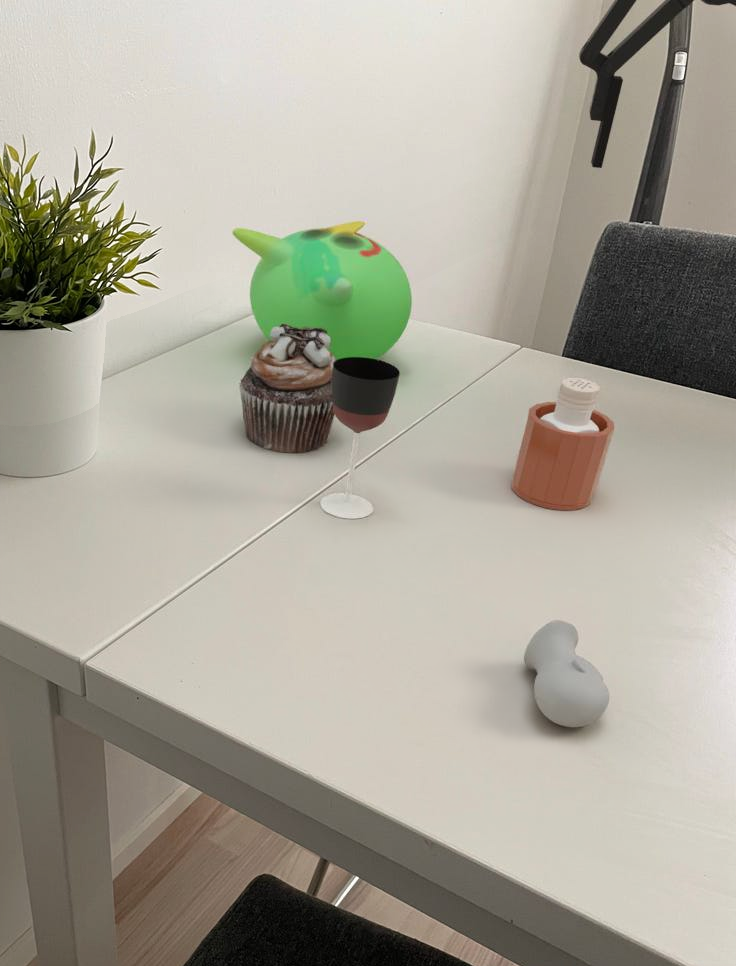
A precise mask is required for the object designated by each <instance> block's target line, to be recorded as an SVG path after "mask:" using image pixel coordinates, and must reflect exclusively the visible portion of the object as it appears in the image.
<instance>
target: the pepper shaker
mask: <svg viewBox="0 0 736 966" xmlns="http://www.w3.org/2000/svg"><path fill="white" fill-rule="evenodd" d="M600 388H601V387H600V385H598V384H597V383H596V382H594V381H591V380H589V379H586V378H580V377H567V378H563V379H562V380H561V382H560V387H559V390H558V394H557V398H556V400H555V402H556V407H555V411H554V412H553V413H549V414H546V415H544V416H542V417H541V418H540V420H541V421H542V422H544V423H546V424H548V425H549V426H551V427H554V428H557V429H561V430H564V431H569V432H575V433H596V432H599V428H598V426H597V425H596V424H595V423H594V422H593V421H591V420H590V417H591V414H592V411H593V410H595V405H596V401H597V398H598V395H599V391H600Z"/></svg>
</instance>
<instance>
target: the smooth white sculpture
mask: <svg viewBox="0 0 736 966" xmlns="http://www.w3.org/2000/svg"><path fill="white" fill-rule="evenodd" d="M578 643H579V632H578V630H577V628H576V627H575V625H573V624H572V623H570V622H567V621H564V620H561V619H555V620H552V621H550V622H547V623H546V624H545V625H543V626H542V627H540V629H538V630H537V631H536V632H535V633H534V634H533V636H532V637H531V639H530V640H529V642H528V644H527V645H526V648H525V651H524V654H523V655H524V656H523V663H524V665H525V667H526V668H527V669H529V670H531V671H536V673H537V674H536V676H535V680H534V686H533V692H534V699H535V702H536V704H537V707H538V708H539V710H540V712H541V713H542V714H543V715H544V716H545V717H546V718H547V719H548V720H550V721H551V722H553V723H554V724H557V725H558V726H562V727H566V728H583V727H587V726H589V725H591V724H593V723H594V722H596V721H597V720H598V719H599V718H600V717H601V716H602V715H603V714H604V713H605V712H606V710H607V708H608V706H609V702H610V691H609V688H608V686H607V685H606V683H605V682H604V678H603V675H602V673H601V672H600V671H599V669H598V668H596V667H595V666H594V664H592V663H591V662H590V661H588V660H587V659H586V658H584V657H582V656H580V655H578V654H576V648H577V646H578Z"/></svg>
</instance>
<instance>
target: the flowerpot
mask: <svg viewBox="0 0 736 966" xmlns="http://www.w3.org/2000/svg"><path fill="white" fill-rule="evenodd" d="M555 407H556V401H545V402H540V403H536V404H533V405H532V406H531V407H529V409H528V411H527V415H526V420H525V423H524V428H523V433H522V436H521V440H520V445H519V449H518V453H517V455H516V456H517V457H516V460H515V465H514V468H513V472H512V478H511V481H510V487H511V489H512V491H513V493H515V494H516V495H517V496H518V497H519V498H521V499H522V500H524V501H526V502H528V503H530V504H533V505H535V506H538V507H542V508H545V509H550V510H556V511H577V510H580V509H584V508H587V507H588V506H589V505H590V504H591V503H592V501H593V498H594V497H595V494H596V491H597V487H598V484H599V481H600V477H601V474H602V471H603V467H604V464H605V461H606V458H607V454H608V452H609V449H610V445H611V442H612V438H613V435H614V431H615V422H614V421H613V420H612V419H611V418H610V417H609V416H608V415H606V414H604V413H603V412H600V411H598V410H596V409H594V410H593V411H592V414H591V417H590V420H591V421H593V422H594V423H595V424H596V425H597V426H598V428H599V432H596V433H575V432H569V431H564V430H561V429H557V428H554V427H551V426H549V425H548V424H546V423H544V422H542V421H541V420H540V418H541V417H542V416H544V415H546V414H549V413H553V412H554V411H555Z"/></svg>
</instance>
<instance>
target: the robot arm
mask: <svg viewBox="0 0 736 966" xmlns="http://www.w3.org/2000/svg"><path fill="white" fill-rule="evenodd" d="M694 1H695V0H664V1H663V2H662V3H661V4H660V5H659V6H657V7H656V8H655V9H654V10H653V11H652V12H651V13H650V14H649V15H648V16H646V18H645V19H644V20H642V22H641V23H640V24H638V26H636V27H635V28H634V29H633V30H632V31H631V32H630V33H629V34H627V36H626V37H624V38H623V39H622V40H621V42H619V43H618V44H617V45H616V46H615V47H614V48H613V49H611V51H610V52H609V53H608V54H604V53H603V52H602V50H603V49H604V48H605V46H606V45H607V44H608V42H609V41H610V39H611V38H612V36H613V35H614V33H615V32H616V31H617V29H618V28H619V26H620V25H621V23H622V22H623V20H624V19H625V17H626V16H627V15H628V14H629V12H630V11H631V10H632V8H633V6H634V5H635V4H636V2H637V0H614V1H613V2H612V4H611V5H610V7H609V8H608V10H607V11H606V13H605V14H604V16H603V17H602V18H601V19H600V21H599V23H598V24H597V26H596V27H595V28H594V30H593V31H592V33H591V34H590V36H589V37H588V38H587V40H586V42H585V43H584V45H583V46H582V47H581V48H580V51H579V52H578V58H579V62H580V63H581V64H582V65H583V66H584V67H587V68H589V69H591V70H593V71H594V72H595V74H596V80H595V83H594V89H593V93H592V97H591V101H590V106H589V111H588V113H589V118H590V121H596V122H599V126H598V131H597V135H596V139H595V143H594V148H593V152H592V155H591V161H590V163H591V167H592V168H598V169H603V168H602V167H603V165H604V160H605V156H606V151H607V147H608V144H609V140H610V135H611V131H612V128H613V127H612V126H613V123H614V119H615V114H616V111H617V106H618V103H619V98H620V94H621V90H622V86H623V81H624V79H623V78H622V76H621V75H620V76H619V75H615V74H616V73H617V72H618V71H619V70H620V69H621V68H622V67H623V66H625V64H626V63H627V62H629V61H630V60H631V59H632V58H633V57H634V56H635V55H636V54H637V53H638V52H639V51H640V50H641V49H643V48H644V47H645V46H646V45H647V44H648V43H649V42H650V41H651V40H652V39H653V38H654V37H655V36H657V35H658V34H659V33H660V32H661V31H662V30H663V29H664V28H665V27H667V25H668V24H669V23H670V22H671V21H673V20H674V19H675V18H676V17H677V16H678V15H679V14H680V13H681V12H682V11H684V10H685V9H686V8H687V7H689V6H690V5H691V4H692V3H693V2H694ZM700 1H701V2H702V3H704V4H705V5H708V6H723V5H727V4H730V5H731V6H734V7H736V0H700Z"/></svg>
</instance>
